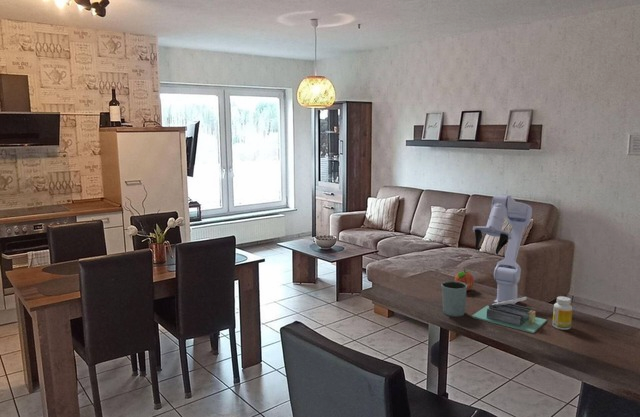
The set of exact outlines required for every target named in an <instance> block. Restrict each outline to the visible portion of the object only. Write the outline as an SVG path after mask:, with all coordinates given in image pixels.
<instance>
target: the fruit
mask: <svg viewBox="0 0 640 417" xmlns="http://www.w3.org/2000/svg"><path fill="white" fill-rule="evenodd" d="M472 273H473V272H472V271H469V270H468V271H467V270H466V269H463V271H459V272H458V273H457V274H456V275H455V277H454V281H457V282H462V283H465V284H466V285H467V291H470V290H471V289H472V288H473V286H474V283H475V282H474V281H475V280H474V277H473V275H472Z"/></svg>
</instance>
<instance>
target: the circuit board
mask: <svg viewBox="0 0 640 417" xmlns="http://www.w3.org/2000/svg"><path fill="white" fill-rule="evenodd" d="M487 309H489V305H486V306H484V307H483V308H481V309H480V310H478V311H476V312H475V313H474V314H472V315H471V318H473V319H475V320H476V319H477V320H481V321H484V322H488V323H492V324H496V325H499V326H504V327H507V328H512V329H515V330H517V331H518V330H519V331H523V332H526V333H530V334H535V333H536V332H537V331H538V330H539V329H540V328H541V327H542V326H544V324H545V323H546V322H547V319H545V318H542V317H537V316H535V323H534V324H533V325H529V319H528V320H527V321H526V322H525V323H524V324H523V325H521V326H520V327H519V326H515V325H511V324H507V323H503V322H499V321H496V320H492V319H488V318H487Z"/></svg>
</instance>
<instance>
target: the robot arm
mask: <svg viewBox="0 0 640 417" xmlns="http://www.w3.org/2000/svg"><path fill="white" fill-rule="evenodd" d="M532 216H533V207H532V206H531V205H529V204H527V203H524V202H520V201H516V200H515V199H514V198H513V197H512V195H507V194H496V195H494V196H493V197H492V200H491V205H490V214H489V217H488V219H487V223H486V225H484V226H483V225H482V226H478V225H477V226H476V225H473V226H472V233H474V234H475V246H474V249H475V251H478V250H479V247H480V243H481V240H482V238H483V234H485V235H488V236H491V237H497V238H498V237H499V240H498V243H497V246H496V249H495V254H496V255H499V253H500V251H501V250H502V249H503V247H505V246H506V245H507V247H506V251H505V256H504V259H501V260H500V261H497V263H496V266H495V267H494V271H493V279H494V281H496V282H495V283H497V285H496V287H497V291H496V299H494V300H493V302H498V301H501V302H503V301H508V300H512V299H517V298H518V290H519V289H518V288H519V287H518V284H519V282H520V280H521V273H522V269H521V266H520V265H519V263H518V262H517V258H518V254H519V251H520V247H521V242H522V238H523V234H524V231H525V229H526V228H527V227H529V226H530V223H531V221H532ZM505 219H506V221H507V224H508V225H510V226H511V228H512V229H511V231H510V232H509V231H506V230H503V229H502V228H503V225H504V222H505ZM493 302H492V303H493ZM517 303H518V302H514V303H510V304H514V305H517Z"/></svg>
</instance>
